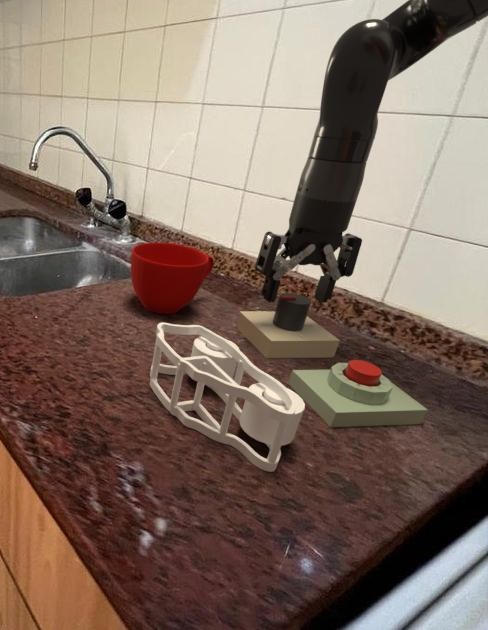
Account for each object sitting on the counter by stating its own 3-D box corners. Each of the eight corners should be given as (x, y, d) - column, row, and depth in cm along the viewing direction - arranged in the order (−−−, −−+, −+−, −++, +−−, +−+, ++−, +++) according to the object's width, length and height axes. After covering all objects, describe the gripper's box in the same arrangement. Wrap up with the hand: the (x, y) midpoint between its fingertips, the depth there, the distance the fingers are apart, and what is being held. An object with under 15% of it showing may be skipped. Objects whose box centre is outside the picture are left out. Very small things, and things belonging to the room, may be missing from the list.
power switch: (367, 382, 62) (377, 357, 61) (420, 424, 54) (434, 397, 53) (287, 383, 61) (296, 358, 59) (330, 427, 53) (341, 399, 51)
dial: (293, 318, 73) (301, 291, 71) (308, 331, 69) (318, 302, 67) (267, 318, 72) (275, 290, 70) (281, 331, 68) (290, 302, 66)
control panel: (295, 327, 77) (301, 310, 76) (333, 357, 68) (340, 339, 67) (235, 327, 75) (239, 310, 74) (266, 358, 66) (271, 339, 65)
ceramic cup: (229, 312, 81) (242, 259, 76) (154, 327, 73) (163, 269, 69) (182, 286, 91) (191, 238, 87) (111, 297, 84) (117, 245, 79)
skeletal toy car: (312, 463, 47) (335, 406, 44) (221, 482, 44) (239, 422, 41) (207, 363, 64) (218, 317, 61) (136, 371, 61) (144, 323, 58)
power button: (363, 371, 58) (367, 359, 57) (384, 387, 55) (389, 375, 54) (337, 371, 57) (342, 359, 56) (357, 388, 54) (362, 375, 53)
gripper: (293, 197, 58) (263, 311, 65) (393, 200, 60) (353, 311, 67) (264, 187, 64) (239, 291, 72) (355, 190, 66) (322, 291, 73)
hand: (294, 300), depth 69 cm, fingers open, 8 cm apart
